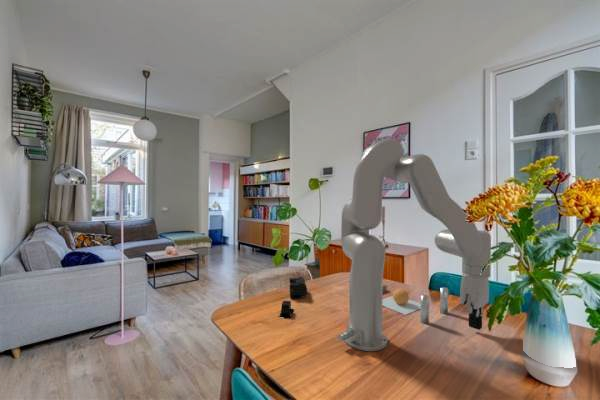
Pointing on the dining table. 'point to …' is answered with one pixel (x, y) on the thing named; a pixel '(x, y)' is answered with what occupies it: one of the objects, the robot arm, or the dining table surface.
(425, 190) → the robot arm
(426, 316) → the left post
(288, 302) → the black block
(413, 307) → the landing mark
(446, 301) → the right post
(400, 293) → the ball
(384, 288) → the stopper wall
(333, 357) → the dining table surface
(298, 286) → the end cap
